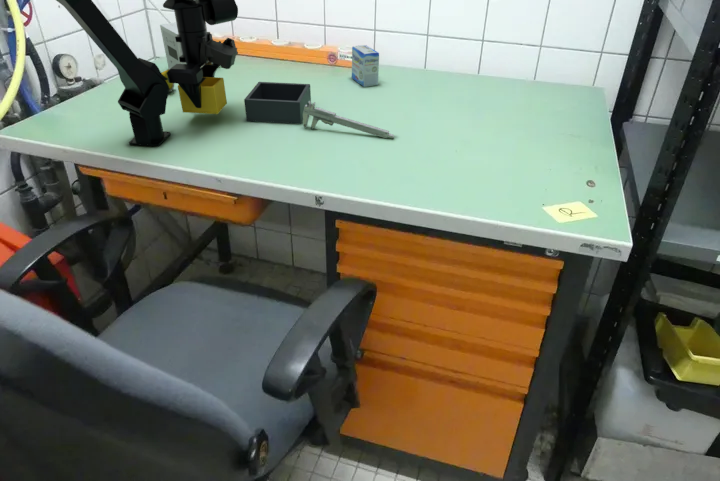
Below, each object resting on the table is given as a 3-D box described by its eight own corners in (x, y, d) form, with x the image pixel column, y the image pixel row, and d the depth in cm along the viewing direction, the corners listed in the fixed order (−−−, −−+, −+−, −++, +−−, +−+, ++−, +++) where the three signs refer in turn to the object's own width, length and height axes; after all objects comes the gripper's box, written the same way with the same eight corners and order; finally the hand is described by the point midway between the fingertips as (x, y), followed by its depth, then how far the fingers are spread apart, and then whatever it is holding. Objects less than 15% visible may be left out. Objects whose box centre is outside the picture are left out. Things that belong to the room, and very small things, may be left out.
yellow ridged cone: (174, 88, 139) (183, 68, 131) (164, 102, 137) (173, 83, 129) (155, 76, 137) (163, 55, 129) (145, 90, 135) (153, 70, 127)
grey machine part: (168, 69, 150) (157, 13, 142) (214, 61, 157) (207, 7, 149) (185, 81, 142) (174, 22, 134) (233, 71, 149) (226, 15, 141)
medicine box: (351, 78, 145) (351, 46, 140) (365, 76, 147) (366, 44, 142) (363, 87, 139) (364, 54, 134) (378, 85, 141) (379, 52, 136)
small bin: (217, 114, 116) (213, 87, 113) (182, 112, 117) (177, 85, 114) (227, 103, 122) (223, 77, 118) (193, 101, 122) (188, 76, 119)
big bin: (301, 124, 119) (299, 102, 116) (246, 121, 120) (244, 99, 118) (311, 104, 129) (310, 84, 126) (260, 102, 130) (258, 81, 127)
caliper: (303, 128, 117) (301, 101, 114) (305, 126, 118) (303, 99, 115) (393, 139, 113) (394, 111, 109) (394, 137, 114) (395, 109, 110)
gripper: (214, 43, 101) (225, 120, 110) (243, 20, 116) (251, 89, 125) (158, 40, 102) (174, 117, 111) (194, 18, 117) (205, 87, 126)
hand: (204, 102), depth 119 cm, fingers closed on small bin, 6 cm apart
